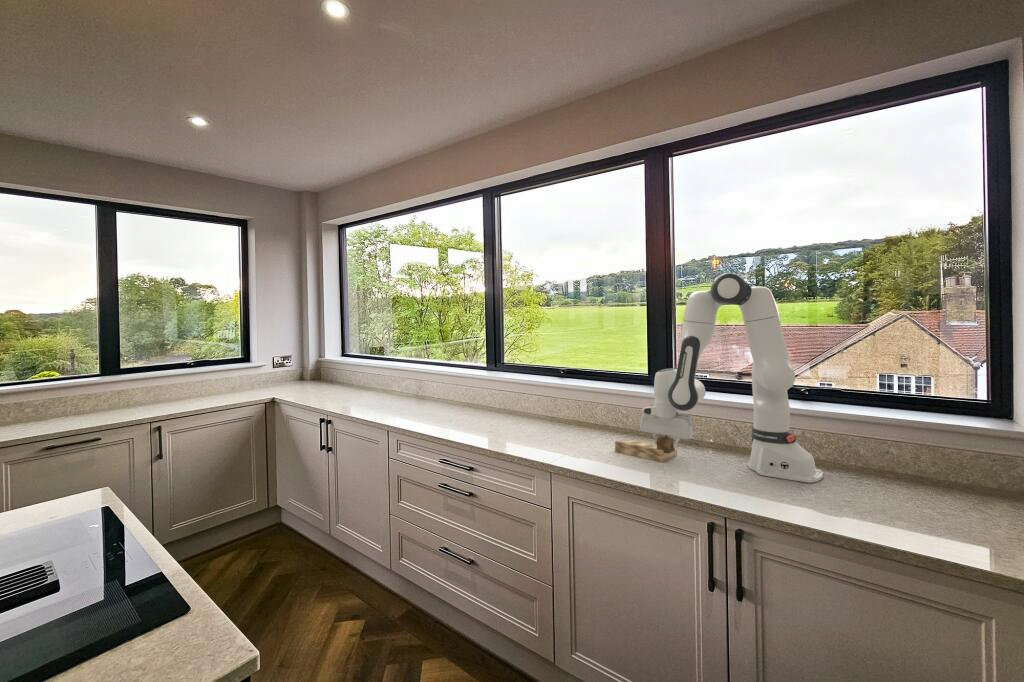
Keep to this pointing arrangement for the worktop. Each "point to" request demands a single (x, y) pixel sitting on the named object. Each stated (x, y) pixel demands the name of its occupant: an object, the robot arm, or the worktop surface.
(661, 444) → the brown wooden block
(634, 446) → the board
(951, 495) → the worktop surface
